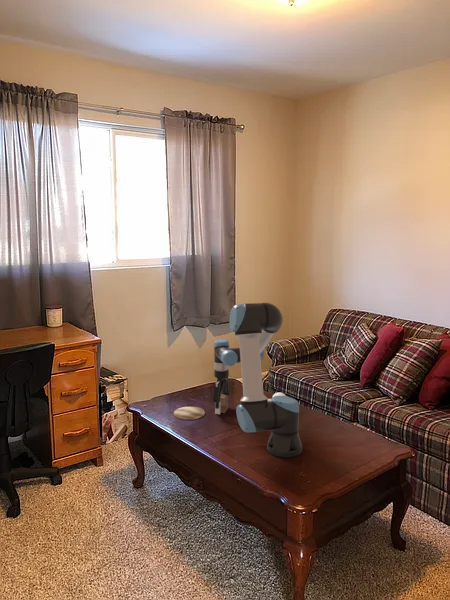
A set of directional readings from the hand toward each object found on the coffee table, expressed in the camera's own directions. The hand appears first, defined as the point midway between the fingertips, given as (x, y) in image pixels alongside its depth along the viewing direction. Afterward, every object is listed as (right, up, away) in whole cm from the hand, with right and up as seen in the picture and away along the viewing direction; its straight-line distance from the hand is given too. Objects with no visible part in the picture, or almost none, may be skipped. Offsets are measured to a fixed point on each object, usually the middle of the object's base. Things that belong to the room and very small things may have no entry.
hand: (221, 410), depth 258 cm
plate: (-17, -1, -4) cm, 17 cm away
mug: (+29, 0, +2) cm, 29 cm away
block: (0, 0, 0) cm, 0 cm away
